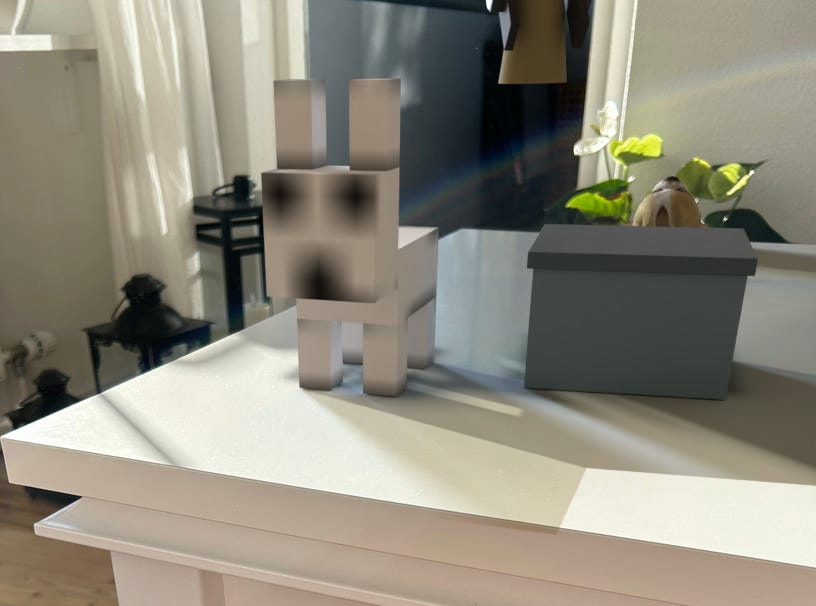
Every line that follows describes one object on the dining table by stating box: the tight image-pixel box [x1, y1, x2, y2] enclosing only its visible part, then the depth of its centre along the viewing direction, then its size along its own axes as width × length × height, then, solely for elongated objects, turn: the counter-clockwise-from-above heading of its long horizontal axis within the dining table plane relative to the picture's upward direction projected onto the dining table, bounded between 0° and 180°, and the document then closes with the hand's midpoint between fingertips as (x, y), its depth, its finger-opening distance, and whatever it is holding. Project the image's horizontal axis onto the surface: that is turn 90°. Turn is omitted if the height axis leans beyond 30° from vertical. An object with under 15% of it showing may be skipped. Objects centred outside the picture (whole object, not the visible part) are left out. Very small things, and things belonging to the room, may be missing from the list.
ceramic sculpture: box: [620, 175, 711, 228], centre depth 118 cm, size 11×9×15 cm
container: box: [523, 223, 759, 401], centre depth 76 cm, size 15×13×10 cm
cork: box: [498, 0, 568, 85], centre depth 88 cm, size 6×6×11 cm
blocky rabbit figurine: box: [260, 77, 440, 398], centre depth 72 cm, size 8×18×20 cm, turn 159°
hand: (546, 36), depth 86 cm, fingers closed on cork, 5 cm apart
